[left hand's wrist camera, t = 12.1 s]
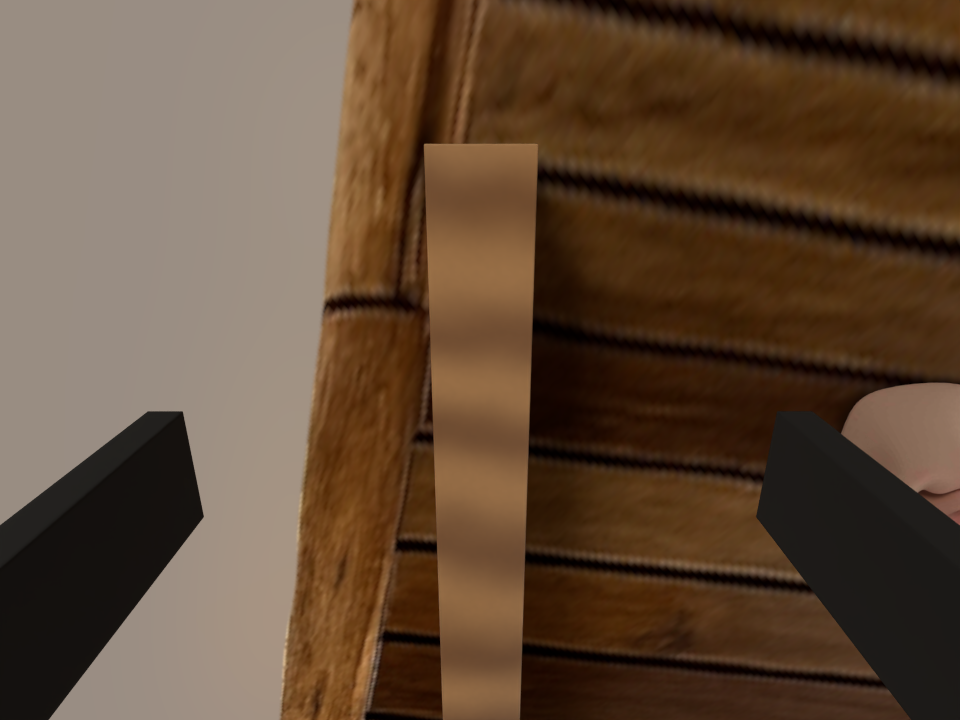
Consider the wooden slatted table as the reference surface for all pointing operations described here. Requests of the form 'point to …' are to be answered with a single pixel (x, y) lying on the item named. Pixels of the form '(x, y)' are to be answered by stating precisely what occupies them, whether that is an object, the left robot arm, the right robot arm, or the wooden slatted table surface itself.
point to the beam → (481, 413)
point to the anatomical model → (914, 438)
